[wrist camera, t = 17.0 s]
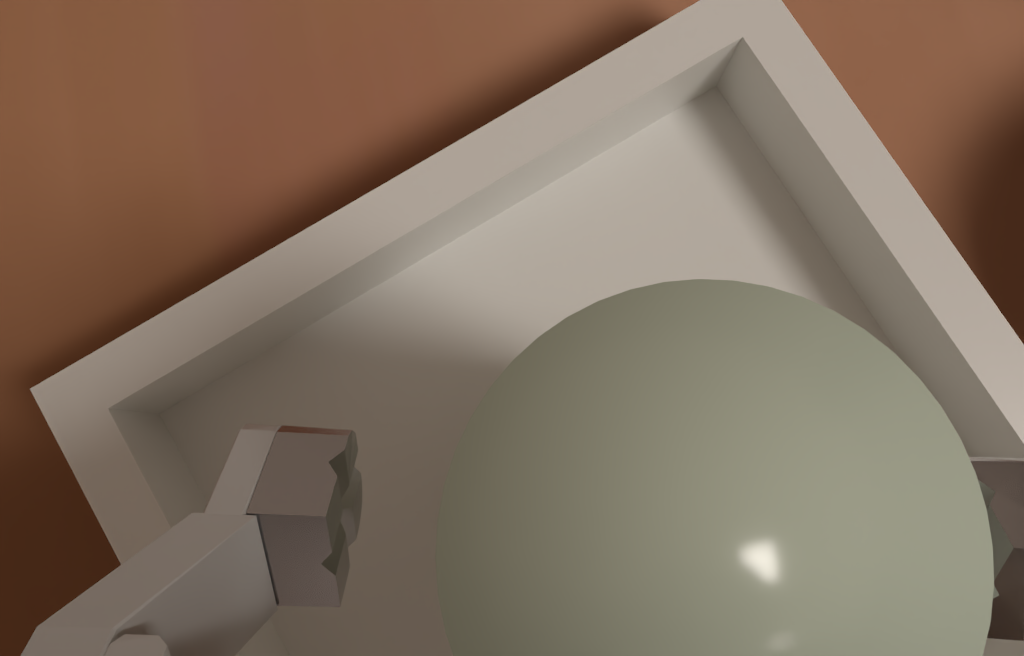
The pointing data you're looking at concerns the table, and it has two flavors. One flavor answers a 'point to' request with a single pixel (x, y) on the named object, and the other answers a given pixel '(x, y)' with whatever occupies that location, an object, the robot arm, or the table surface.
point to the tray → (530, 298)
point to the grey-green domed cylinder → (712, 491)
